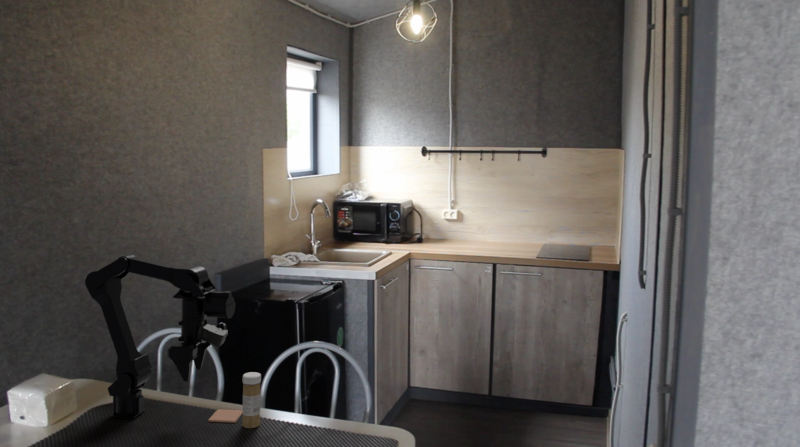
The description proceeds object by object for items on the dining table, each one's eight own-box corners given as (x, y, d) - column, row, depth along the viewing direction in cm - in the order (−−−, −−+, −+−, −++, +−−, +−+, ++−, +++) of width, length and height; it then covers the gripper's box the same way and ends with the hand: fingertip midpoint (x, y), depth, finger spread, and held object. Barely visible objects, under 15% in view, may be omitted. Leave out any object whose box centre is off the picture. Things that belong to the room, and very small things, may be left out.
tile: (208, 421, 154) (208, 419, 154) (217, 411, 161) (217, 409, 161) (235, 422, 154) (235, 421, 154) (243, 412, 161) (243, 410, 161)
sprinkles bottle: (255, 420, 156) (256, 370, 155) (263, 426, 152) (264, 375, 151) (238, 424, 153) (239, 373, 152) (246, 430, 149) (247, 378, 148)
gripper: (212, 325, 143) (212, 388, 144) (234, 309, 162) (233, 365, 163) (166, 324, 143) (166, 387, 144) (193, 307, 162) (193, 363, 163)
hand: (192, 375), depth 154 cm, fingers open, 9 cm apart
